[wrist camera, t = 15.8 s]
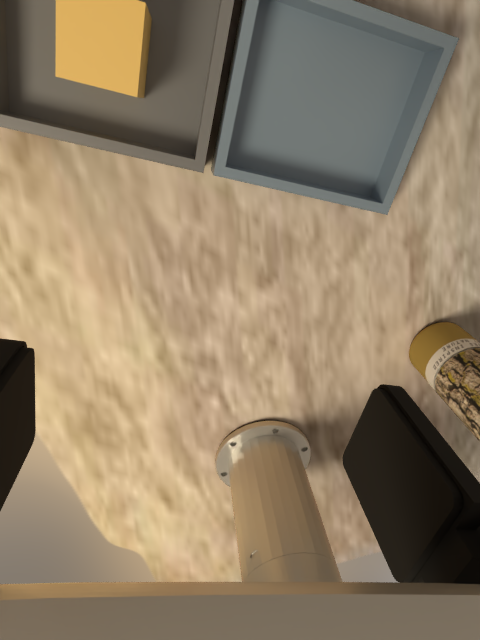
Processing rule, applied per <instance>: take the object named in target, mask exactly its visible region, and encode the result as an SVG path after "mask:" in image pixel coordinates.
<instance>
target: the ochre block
mask: <svg viewBox="0 0 480 640" xmlns="http://www.w3.org/2000/svg"><path fill="white" fill-rule="evenodd" d="M151 22H152V18H151V15H150V13H149V10H148V7H147V5H146V3H145V2H142V1H139V0H56V68H55V76H56V77H60V78H64V79H68V80H71V81H75V82H79V83H83V84H87V85H91V86H95V87H99V88H103V89H107V90H111V91H115V92H119V93H122V94H126V95H130V96H134V97H139V98H144V94H145V84H146V74H147V64H148V53H149V43H150V33H151Z"/></svg>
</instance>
